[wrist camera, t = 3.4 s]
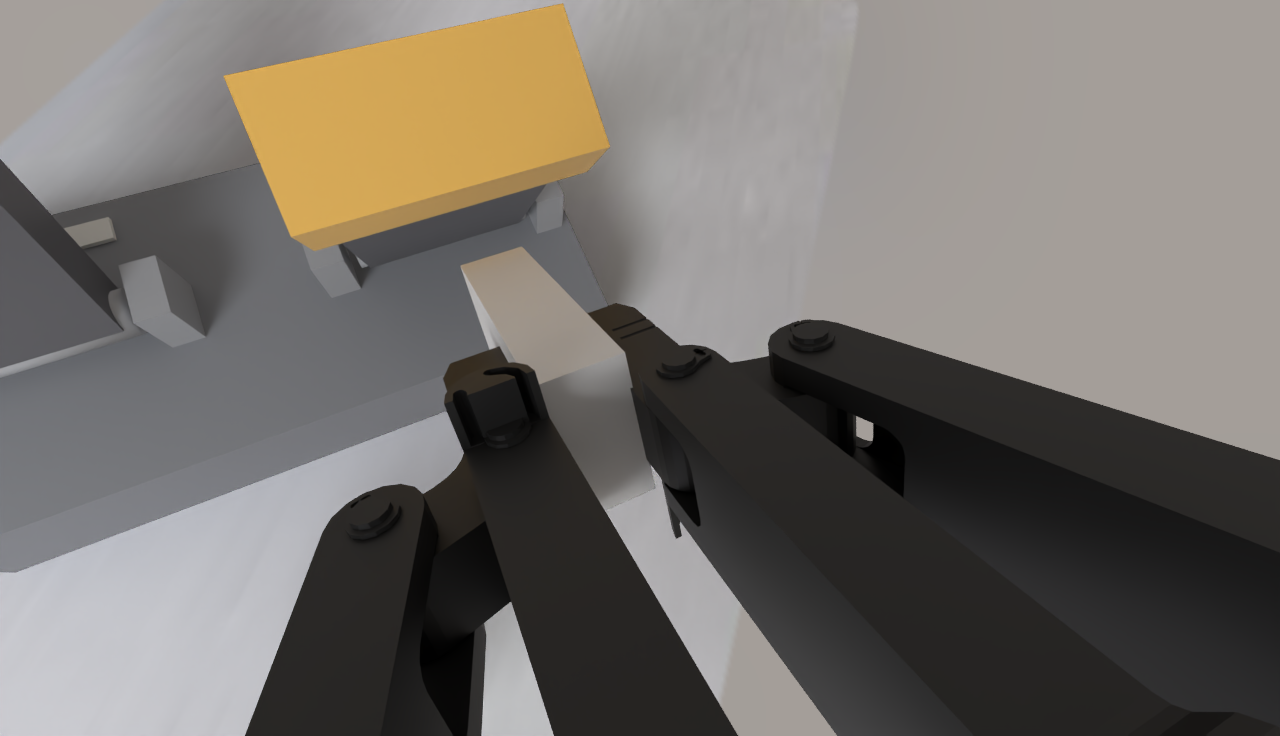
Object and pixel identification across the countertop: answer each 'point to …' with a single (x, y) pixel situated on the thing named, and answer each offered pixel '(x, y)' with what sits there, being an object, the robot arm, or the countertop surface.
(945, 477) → the robot arm
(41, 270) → the cream lever
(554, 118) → the amber lever
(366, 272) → the switch block
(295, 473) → the countertop surface
